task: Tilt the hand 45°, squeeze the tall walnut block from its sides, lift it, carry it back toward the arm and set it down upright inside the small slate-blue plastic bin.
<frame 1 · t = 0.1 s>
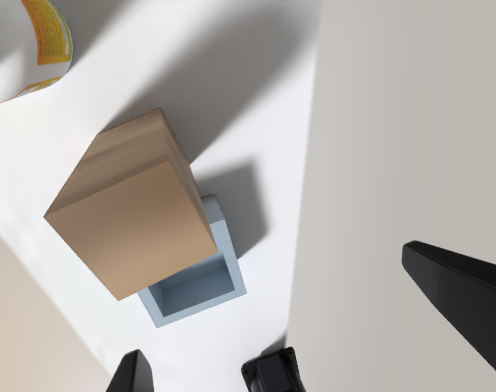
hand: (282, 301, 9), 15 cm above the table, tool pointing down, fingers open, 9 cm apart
walnut block: (146, 151, 21), on the table
bin: (183, 245, 25), on the table
supplement bottle: (20, 36, 16), on the table
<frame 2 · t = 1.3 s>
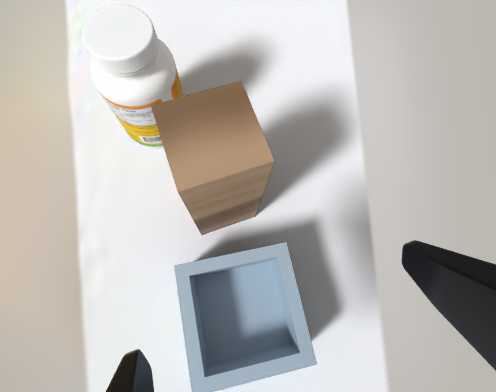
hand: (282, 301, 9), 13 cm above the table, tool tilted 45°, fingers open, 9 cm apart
walnut block: (219, 200, 24), on the table
bin: (241, 308, 22), on the table
supplement bottle: (158, 123, 26), on the table
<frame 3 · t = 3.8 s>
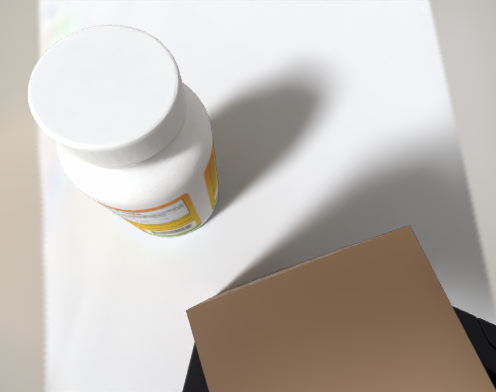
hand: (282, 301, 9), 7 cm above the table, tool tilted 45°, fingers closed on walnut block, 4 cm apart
walnut block: (271, 322, 15), on the table, touching gripper
supplement bottle: (173, 193, 17), on the table
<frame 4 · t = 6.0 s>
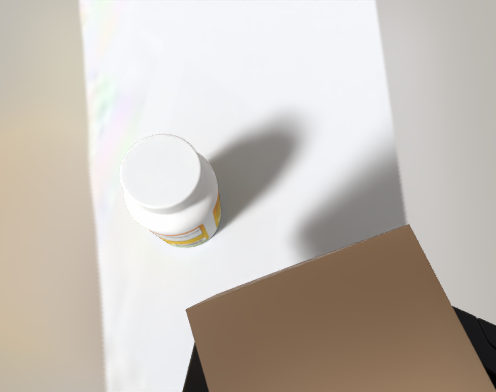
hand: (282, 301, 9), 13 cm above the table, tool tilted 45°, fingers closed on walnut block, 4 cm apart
walnut block: (271, 321, 15), point 7 cm above the table, touching gripper
supplement bottle: (188, 215, 24), on the table
when the fingers open (9 cm above the table, at t = 8.2 s): walnut block stays where it is, resting on bin.
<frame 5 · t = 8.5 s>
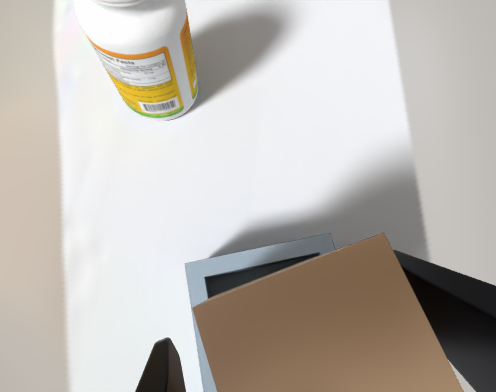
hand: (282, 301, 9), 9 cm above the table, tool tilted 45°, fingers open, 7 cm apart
walnut block: (268, 319, 16), point 1 cm above the table, touching bin
bin: (266, 318, 17), on the table
supplement bottle: (162, 92, 22), on the table
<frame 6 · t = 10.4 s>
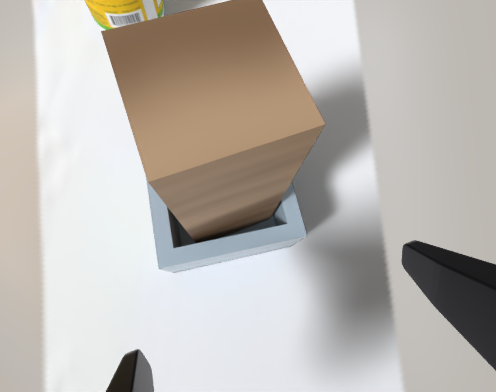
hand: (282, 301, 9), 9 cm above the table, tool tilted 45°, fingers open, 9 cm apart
walnut block: (221, 198, 18), point 1 cm above the table, touching bin
bin: (222, 202, 19), on the table
supplement bottle: (131, 16, 23), on the table
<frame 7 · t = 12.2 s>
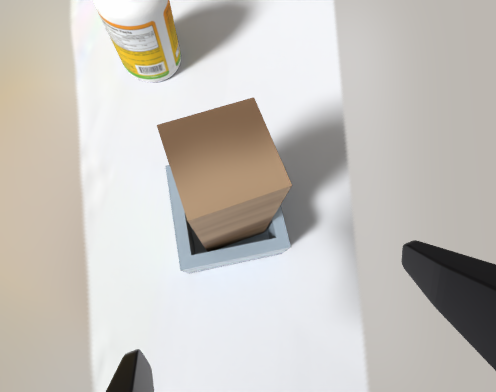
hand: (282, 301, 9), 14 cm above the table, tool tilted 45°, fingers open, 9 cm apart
walnut block: (226, 215, 23), point 1 cm above the table, touching bin
bin: (227, 218, 24), on the table
supplement bottle: (153, 62, 28), on the table
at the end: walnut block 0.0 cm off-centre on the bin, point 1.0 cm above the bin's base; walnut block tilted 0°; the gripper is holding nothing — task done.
